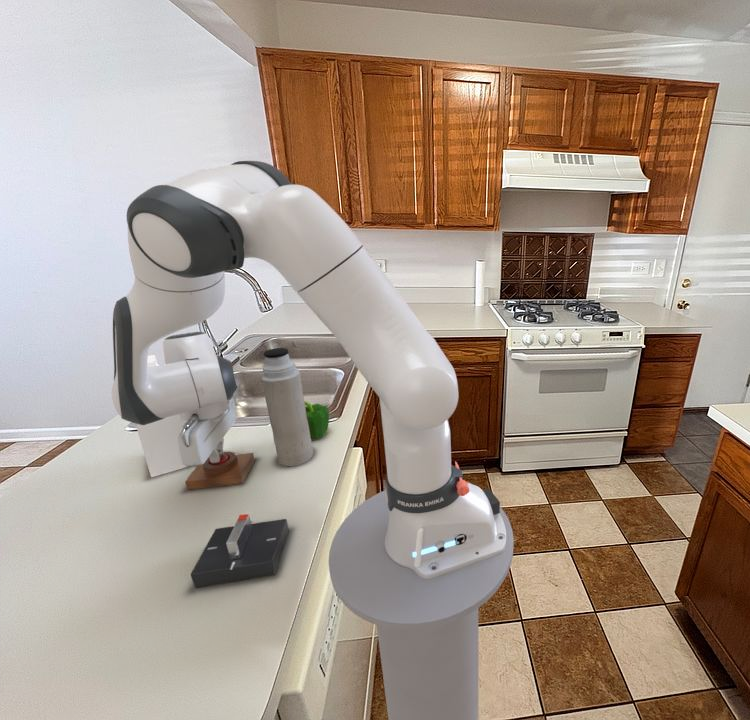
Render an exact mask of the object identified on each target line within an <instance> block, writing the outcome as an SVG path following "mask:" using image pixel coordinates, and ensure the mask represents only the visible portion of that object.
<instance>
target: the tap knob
mask: <svg viewBox="0 0 750 720" xmlns="http://www.w3.org/2000/svg"><path fill="white" fill-rule="evenodd" d="M251 522H252V520H251V517H250V514H249V513H246V514H239V516H238V517H237V520H236V521H235V524H234V525H233V526H234V528H233V530H232V532H231V534H230V536H229V538H228V540H227V542H226V545H227V549H228V552H229V556H230V559H238V558H241V557H242V554H243V552H244V550H245V547H246V545H247V543H248V540H249V538H250V535H251V533H252V531H253V528H252V524H251Z"/></svg>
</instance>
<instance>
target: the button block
mask: <svg viewBox="0 0 750 720" xmlns="http://www.w3.org/2000/svg"><path fill="white" fill-rule="evenodd" d="M224 455H228V457H229V460H228V461H226V462H225V463H222V464H219V465H211V464H210V458H209V457H208V459H207V460H206V462H205V463H204V464H202V465H197V466H195V468H194V470H193V471H192V472H191V473H190V474H189V476H188V477H187V478H186V480H185V481H184V482H185V486H186V489H187V491H188V490H189V491H191V490H198V489H206V488H214V487H222V486H230V485H231V486H232V485H239V484H243V483H244V481H245V480H246V478H247V476H248V475H249V473H250V470H251V469H252V467H253V465H254V463H255V461H256V459H255V454H254V452H248V453H239V454H236V452H233V451H224Z"/></svg>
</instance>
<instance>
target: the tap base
mask: <svg viewBox="0 0 750 720" xmlns="http://www.w3.org/2000/svg"><path fill="white" fill-rule="evenodd" d="M251 524H252V528H253V531H252V533H251V535H250V538H249V540H248V543H247V545H246V547H245V550H244V552H243V554H242V557H241V558H238V559H230V556H229V552H228V549H227V545H226V542H227V540H228V538H229V536H230V534H231V532H232V530H233V528H234V526H235V525H233V526H232V525H231V526H226V527H218V528H215V529H214V531H213V533H212V534H211V537H210V538H209V540H208V542H207V544H206V545H205V547H204V549H203V550H202V553H201V554H200V556H199V557H198V560H197V562H196V564H195V565H194V567H193V569H192V571H191V573H190V577H191V580H192V583H193V586H194V589H200V588H204V587H212V586H216V585H217V586H218V585H223V584H230V583H234V582H236V583H237V582H240V581H241V582H242V581H246V580H247V581H248V580H252V579H260V578H266V577H272V576H275V575H276V573H277V570H278V567H279V565H280V564H279V563H280V561H281V558H282V554H283V551H284V548H285V545H286V542H287V538H288V535H289V532H290V530H289V524H288V520H287V518H283V519H276V520H275V519H274V520H268V521H267V520H266V521H260V522H254V521H252V520H251Z"/></svg>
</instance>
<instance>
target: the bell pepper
mask: <svg viewBox="0 0 750 720" xmlns="http://www.w3.org/2000/svg"><path fill="white" fill-rule="evenodd" d="M304 402H305V408H306V415H307V420H308V425H309V431H310V437H311V441H312V440H319V439H321V438H323V437H324V436H325V435H326V433H327V431H328V428H329V424H330V409H329V408H328V407H327V406H326V405H322V404H320V403H314V404H311V403H310V402H309V401H306V400H304Z"/></svg>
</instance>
